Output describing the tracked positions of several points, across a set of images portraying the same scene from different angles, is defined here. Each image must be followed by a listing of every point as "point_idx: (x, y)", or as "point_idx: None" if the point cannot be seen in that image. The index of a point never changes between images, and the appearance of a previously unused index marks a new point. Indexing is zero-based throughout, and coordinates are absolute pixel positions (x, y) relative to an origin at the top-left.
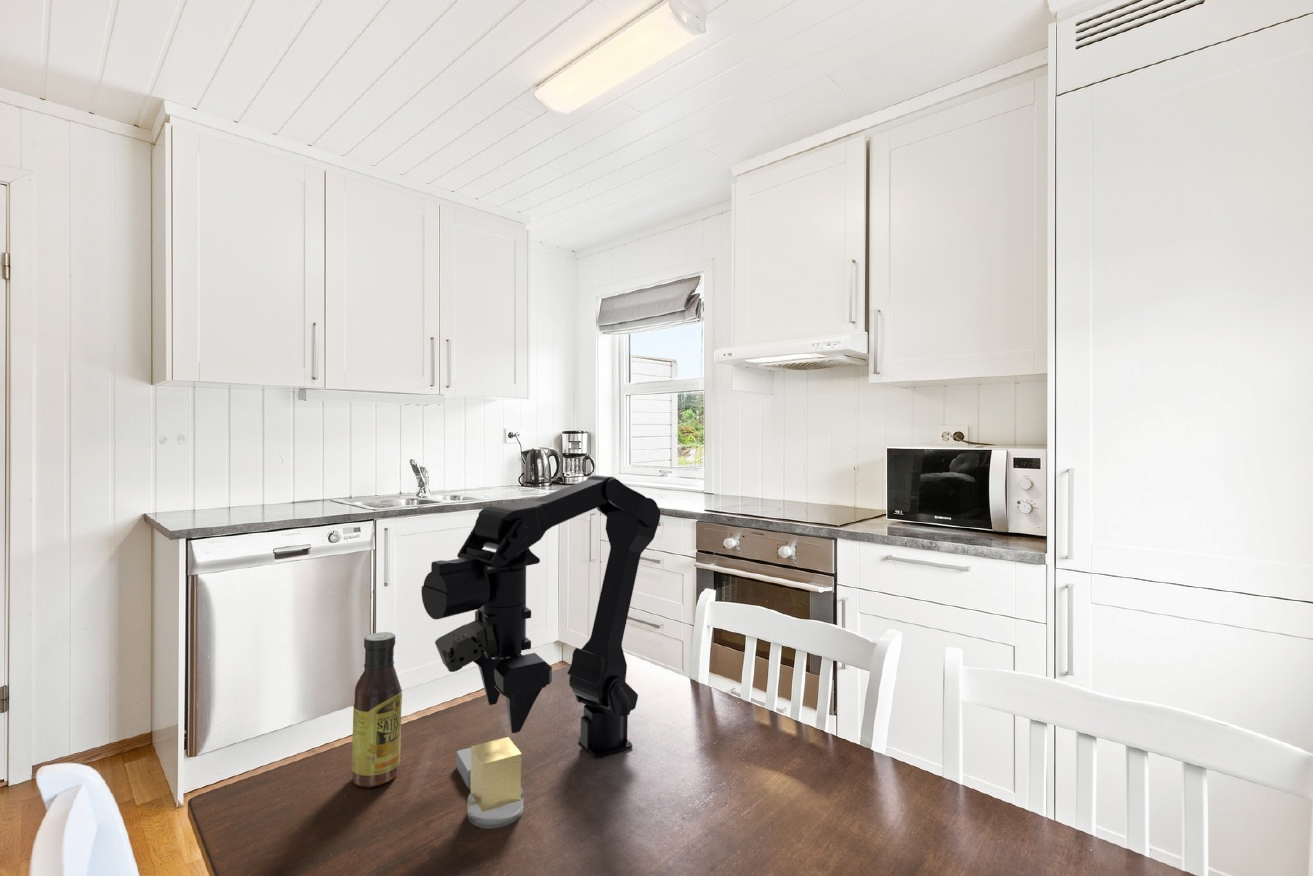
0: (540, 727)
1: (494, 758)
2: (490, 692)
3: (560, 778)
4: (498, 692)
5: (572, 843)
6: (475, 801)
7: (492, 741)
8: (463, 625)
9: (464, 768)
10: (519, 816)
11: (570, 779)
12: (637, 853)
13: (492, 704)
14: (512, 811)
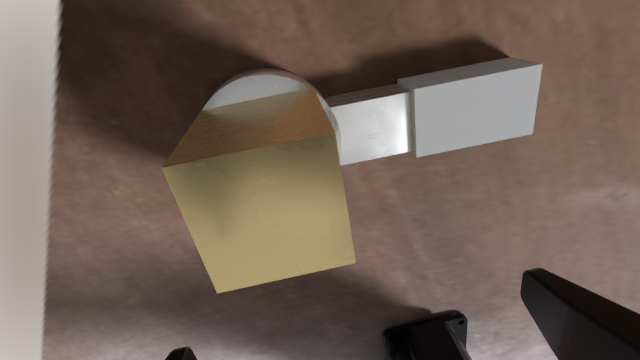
0: (559, 256)
1: (200, 212)
2: (579, 329)
3: (346, 269)
4: (559, 354)
5: (118, 264)
6: (258, 97)
7: (342, 213)
8: None
9: (446, 79)
10: None
11: (335, 284)
12: (76, 345)
13: (522, 282)
14: None
